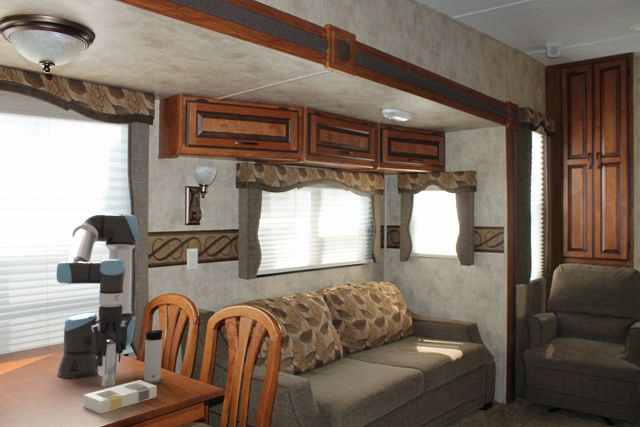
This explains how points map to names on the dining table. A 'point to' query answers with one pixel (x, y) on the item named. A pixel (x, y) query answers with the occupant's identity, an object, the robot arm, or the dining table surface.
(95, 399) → the socket board
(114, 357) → the plug
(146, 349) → the travel mug
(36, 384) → the dining table surface
